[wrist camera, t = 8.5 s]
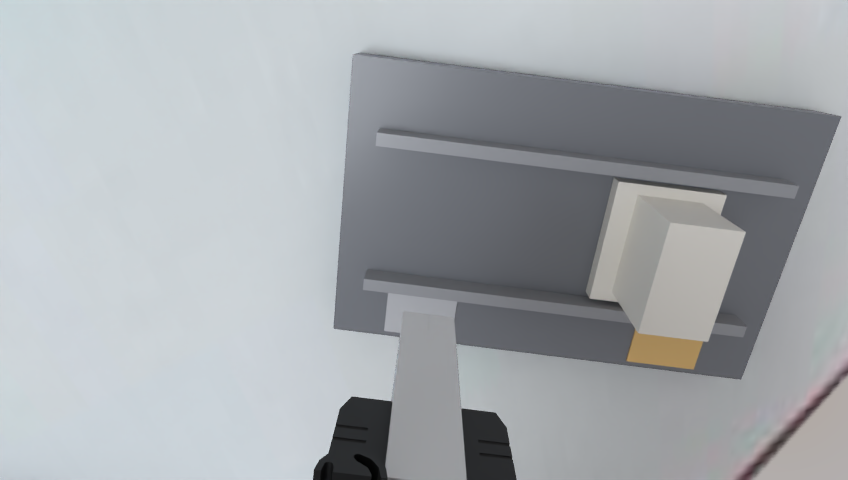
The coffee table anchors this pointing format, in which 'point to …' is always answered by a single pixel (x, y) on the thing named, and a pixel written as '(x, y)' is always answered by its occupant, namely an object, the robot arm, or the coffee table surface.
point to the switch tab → (665, 257)
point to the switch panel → (552, 205)
